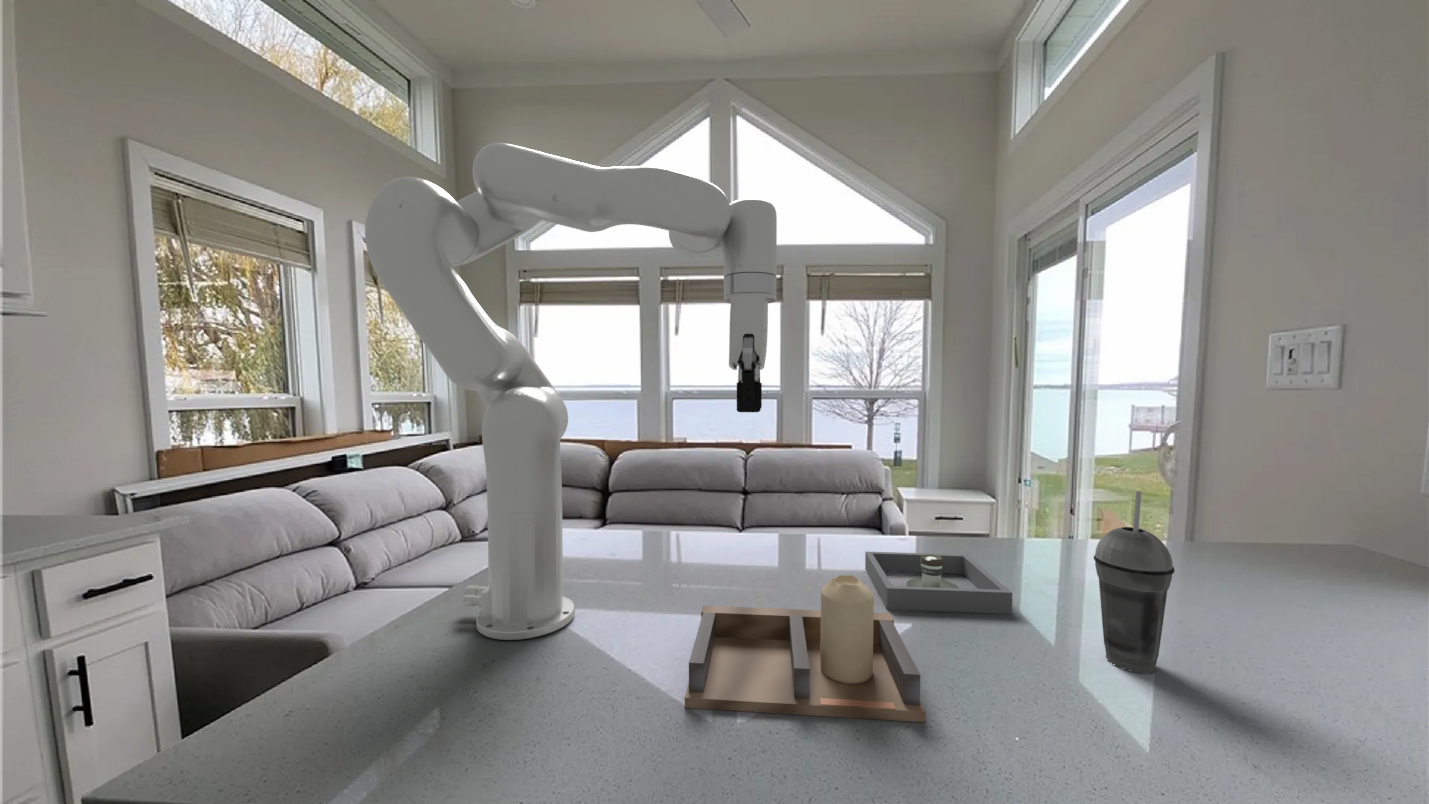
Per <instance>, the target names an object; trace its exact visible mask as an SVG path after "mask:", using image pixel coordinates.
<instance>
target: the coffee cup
mask: <svg viewBox="0 0 1429 804" xmlns="http://www.w3.org/2000/svg"><path fill="white" fill-rule="evenodd" d="M933 554H934V553H932V554H923V555H921V558H920V563H921V572H920V573H921V574H922V575H921V576H922V577H914V578H911V579H908V580H907V582H906V586H911V587H938V588H960V587H959V586H958V585H957V584H956V583H953V582H950V581H948V580H945V579H942V574H943V573H942V566H944V563H943V559H942V557H940V556H937V555H933Z"/></svg>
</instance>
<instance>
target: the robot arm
mask: <svg viewBox="0 0 1429 804" xmlns="http://www.w3.org/2000/svg"><path fill="white" fill-rule="evenodd" d="M472 179H473V183H474V185H475V186H474V187H475V189H476V191H474V192H472V193H470V194H468V195H466V196H464V197H462V198H461V199H459V200H455V199H454V197H452V196H451V195H450V193H448V192H447V190H445V189H443V188H442V187H440V186H439V185H437V184H436V183H433V182H431V181H429V180H427V179H424V178H420V177H415V176H402V177H396V178H394V179H392V180H390V181H388V182H386V183H385V184H384V185H383V186H382V187H381V188H380V189H379V190H378V191H377V192H376V194H375V195H374V196H373V198H372V200H371V203H370V205H369V207H368V209H367V213H366V219H365V222H364V223H365V225H364V240H365V246H366V250H367V254H368V257H369V261H370V264H371V265H372V268H373V270H374V272H375V274H376V275H377V277H378V279H379V281H380V283H381V285H382V286H383V287H384V289H385V290H386V291H387V293H388V295H389V296H390V297H391V299H392V300H393V301H394V303H395V304H396V305H397V307H398V308H399V310H400V311H401V312H402V314H403V315H404V317H405V318H406V319H407V321H408V323H409V325H411V327H412V329H413V330H414V332H415V333H416V334H417V335H418V337H419V339H420V340H421V341H422V343H423V344H424V345H425V347H426V349H428V351H429V352H430V354H431V355H432V356H433V357H434V359H435V361H436V362H437V364H438V365H439V366H440V369H442V371H443V372H444V373H445V376H447V378H448V379H449V380H450V381H451V382H452V383H453V384H455V385H456V386H458V387H460V388H462V389H464V390H469V391H476V392H477V394H478V395H479V396H480V397H481V399H482V400H483V402H484V403H485V404H486V406H487V409H486V411H485V413H484V416H483V420H482V424H481V425H482V428H481V438H482V439H481V441H482V449H483V456H484V464H485V465H484V466H485V472H486V502H487V503H486V506H487V551H488V552H487V556H488V557H487V558H488V559H487V560H488V561H487V562H488V563H487V564H488V566H487V567H488V585H487V586H481V585H473V584H472V585H471V584H470V585H467V586H466V587H465V588H464V591H463V598H462V605H463V606H465V607H466V606H467V607H469V606H470V607H471V606H472V607H473V606H478V607H479V608H480V612H479V613H478V615H477V616H476V623H475V625H476V626H475V627H476V630H477V631H478V632H479V633H480V634H481V635H483V636H484V637H487V638H491V639H495V640H502V641H505V640H506V641H515V640H519V641H520V640H527V639H533V638H538V637H541V636H544V635H549V634H551V633H554V632H556V631H559V630H560V629H561V628H564V627H565V626H566V625H568V624H569V623H570V622H571V621H573V619H574V617H575V614H576V613H575V611H576V610H575V609H576V608H575V603H574V602H573V601H572V599H569V598H568V597H566V596H564V569H563V568H564V564H563V563H564V561H563V560H564V559H563V557H564V556H563V555H564V554H563V553H564V552H563V551H564V550H563V545H564V543H563V487H562V486H563V484H562V483H563V481H562V480H563V479H562V464H561V463H562V462H561V439H562V437H563V436H565V433H566V432H567V431H566V430H567V428H568V424H569V414H568V409H567V406H566V404H565V402H564V400H563V399H562V397H561V396H560V394H559V393H558V392H557V390H556V389H555V387H554V386H553V385H552V383H551V382H550V380H549V379H548V377H547V376H546V375H545V374H544V372H543V370H542V369H541V368H540V367H539V365H538V364H537V362H536V361H535V360H534V358H533V357H532V355H531V354H530V352H529V351H528V350H527V348H526V347H525V345H523V343H522V342H521V341H520V340H519V339H518V337H516V336H515V335H514V334H513V333H511V331H508V330H507V329H504V328H503V327H501V326H499V324H496V323H495V322H494V321H493V319H491V317H490V316H489V315H488V313H487V312H486V311H485V310H484V309H483V307H482V305H480V303H479V302H478V300H477V299H476V298H475V296H474V294H473V292H471V289H469V286H468V285H467V283H465V281H464V280H463V279H462V278H461V277H460V275H459V274H458V272H457V271H456V270H455V269H454V267H458V266H463V265H467V264H470V263H471V262H473V261H476V260H477V259H480V258H482V257H484V256H485V255H487V254H488V253H491V252H493V251H495V250H497V249H498V248H500V247H502V246H503V245H505V244H507V243H509V242H511V241H513V240H514V239H516V238H518V237H520V236H522V235H523V234H525V233H527V232H528V231H529V230H531V229H533V228H534V227H536V226H537V225H538V224H539V223H540V222H542V221H543V222H547V223H551V224H555V225H560V226H564V227H568V228H571V229H576V230H578V231H583V232H588V233H596V232H602V231H605V230H607V229H609V228H613V227H615V226H621V225H622V226H623V225H638V226H645V227H651V228H656V229H660V230H664V231H668V237H669V243H670V244H671V246H672V247H673V250H674V251H676V252H677V253H678V254H680V255H681V256H683V257H686V258H688V259H689V258H690V259H704V258H705V259H706V258H713V257H722V256H723V302H724V303H727V304H730V308H729V309H730V310H729V335H728V336H729V338H728V339H729V341H728V343H729V344H728V345H729V346H728V348H729V349H728V367H729V368H730V369H732V370H733V371H737V370H738V371H737V374H738V375H737V382H736V411H737V412H738V413H759V412H761V409H762V406H763V405H762V403H763V401H762V400H763V399H762V391H763V390H762V387H763V386H762V385H763V383H762V382H761V371H762V370H763V369H764V368H765V364H766V360H767V359H766V357H767V349H768V331H769V330H768V325H769V319H768V318H769V317H768V316H769V304H772V303H776V302H777V259H778V258H777V256H778V255H777V247H778V246H777V241H778V239H777V235H778V233H777V231H778V230H777V226H778V225H777V224H778V223H777V221H778V220H777V211H776V208H775V206H774V205H773V204H772V203H771V202H770V201H768V200H766V199H762V198H749V197H748V198H741V199H737V200H734V201H731V203H730V201H729V199H728V196H727V195H726V194H725V193H724V192H723V190H722V189H721V188H719V187H718V186H717V185H716V184H713V183H712V182H710V181H708V180H705V179H704V178H700V177H697V176H694V175H691V174H687V173H683V172H678V171H675V170H671V169H668V168H663V167H657V166H647V165H633V166H632V165H631V166H609V167H601V166H597V165H592V164H589V163H585V162H580V161H576V160H572V159H570V158H566V157H562V156H558V155H554V154H549V153H546V152H543V151H540V150H535V149H531V148H529V147H528V148H527V147H524V146H520V145H515V144H512V143H505V142H493V143H489V144H487V145H485V146H483V147H482V148H481V149H480V150H479V151H478V152H477V154H476V155H475V157H474V160H473V164H472Z"/></svg>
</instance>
